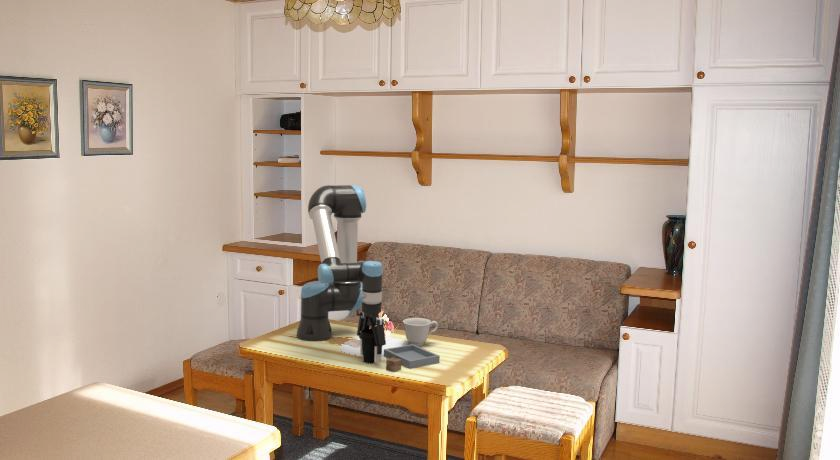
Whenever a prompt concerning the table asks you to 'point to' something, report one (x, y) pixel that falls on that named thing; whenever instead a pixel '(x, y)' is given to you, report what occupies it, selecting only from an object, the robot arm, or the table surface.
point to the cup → (368, 346)
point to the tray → (412, 355)
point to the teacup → (418, 330)
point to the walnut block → (393, 364)
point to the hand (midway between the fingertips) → (370, 358)
